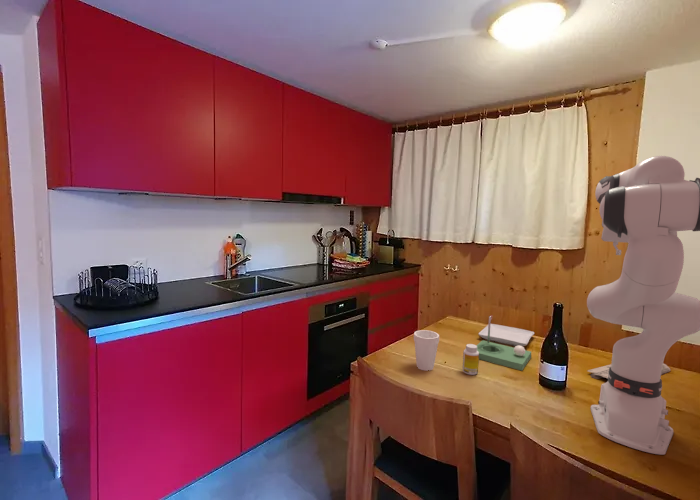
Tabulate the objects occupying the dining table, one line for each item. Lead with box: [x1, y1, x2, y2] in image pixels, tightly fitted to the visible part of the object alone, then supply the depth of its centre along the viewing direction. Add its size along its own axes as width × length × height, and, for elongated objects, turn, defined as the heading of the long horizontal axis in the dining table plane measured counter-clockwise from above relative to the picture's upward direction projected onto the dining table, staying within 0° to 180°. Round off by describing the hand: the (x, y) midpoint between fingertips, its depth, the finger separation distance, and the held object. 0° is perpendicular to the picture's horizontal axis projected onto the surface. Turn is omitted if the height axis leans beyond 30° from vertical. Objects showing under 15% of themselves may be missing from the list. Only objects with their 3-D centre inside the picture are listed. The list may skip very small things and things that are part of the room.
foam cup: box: [413, 329, 440, 372], centre depth 135 cm, size 10×9×13 cm
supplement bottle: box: [462, 343, 480, 376], centre depth 132 cm, size 6×6×10 cm
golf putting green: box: [475, 339, 532, 371], centre depth 146 cm, size 16×20×2 cm
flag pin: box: [486, 314, 493, 343], centre depth 156 cm, size 4×1×12 cm, turn 142°
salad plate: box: [478, 323, 535, 347], centre depth 168 cm, size 21×21×3 cm
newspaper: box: [586, 362, 672, 380], centre depth 134 cm, size 35×12×4 cm, turn 117°
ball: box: [513, 345, 526, 356], centre depth 142 cm, size 4×4×4 cm
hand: (635, 256), depth 123 cm, fingers open, 8 cm apart
